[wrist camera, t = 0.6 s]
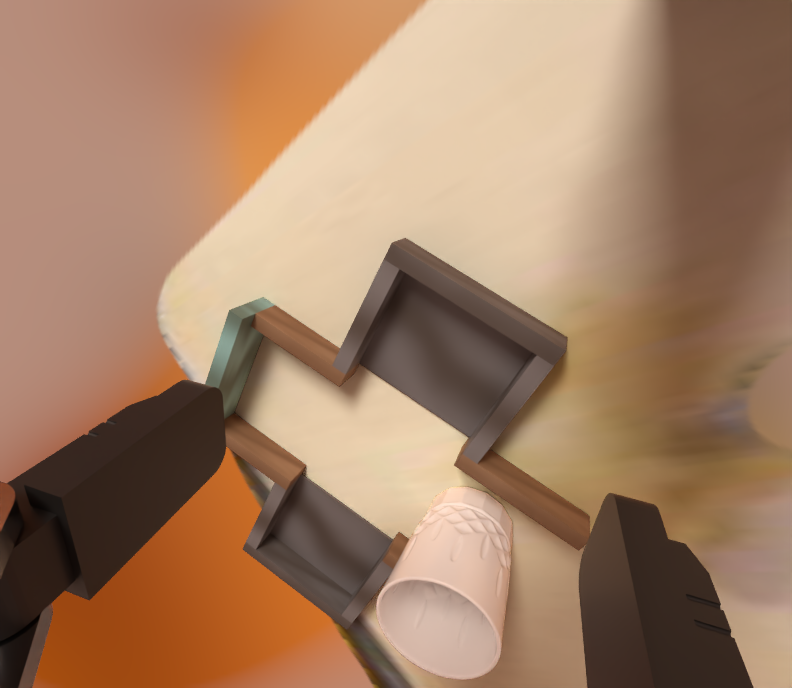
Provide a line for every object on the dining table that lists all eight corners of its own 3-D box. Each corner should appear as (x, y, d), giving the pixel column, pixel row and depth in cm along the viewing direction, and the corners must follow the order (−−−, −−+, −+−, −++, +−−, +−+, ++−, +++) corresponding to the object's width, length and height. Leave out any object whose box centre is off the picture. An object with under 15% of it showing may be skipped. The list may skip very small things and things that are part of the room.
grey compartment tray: (306, 177, 32) (272, 177, 28) (694, 415, 28) (710, 450, 24) (195, 483, 48) (164, 508, 44) (434, 664, 44) (421, 707, 40)
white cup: (406, 517, 39) (355, 616, 30) (458, 460, 35) (416, 555, 26) (481, 577, 38) (451, 697, 29) (542, 526, 34) (529, 646, 26)
